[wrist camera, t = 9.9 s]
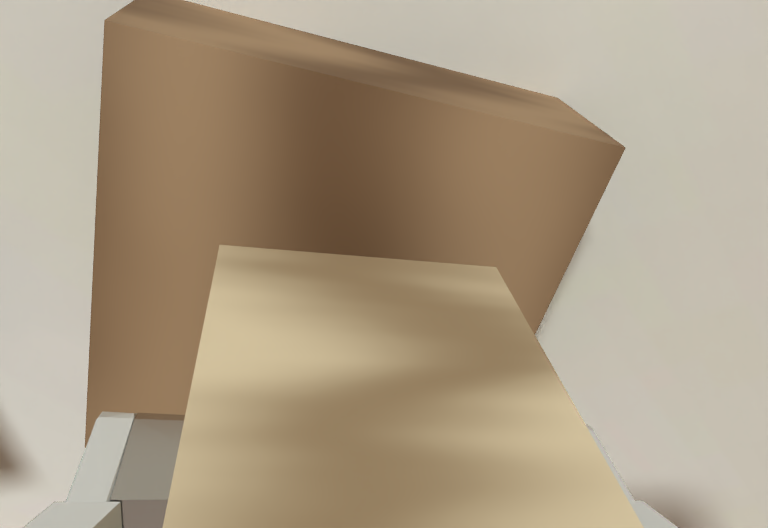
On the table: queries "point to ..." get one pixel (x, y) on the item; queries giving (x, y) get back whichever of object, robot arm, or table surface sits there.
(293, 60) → the walnut block
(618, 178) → the table surface
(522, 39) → the table surface
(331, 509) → the oak block
